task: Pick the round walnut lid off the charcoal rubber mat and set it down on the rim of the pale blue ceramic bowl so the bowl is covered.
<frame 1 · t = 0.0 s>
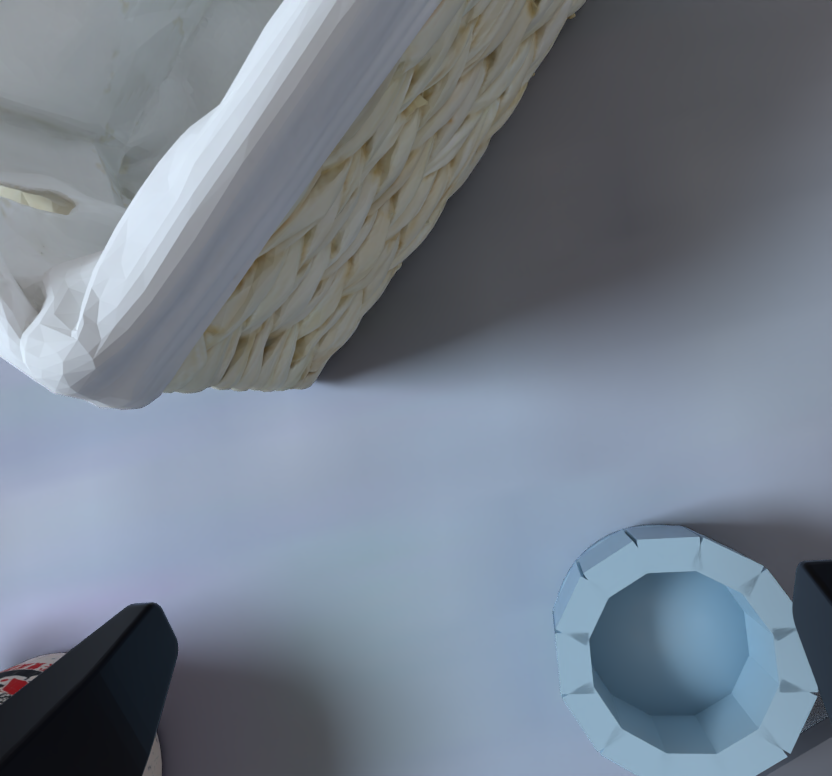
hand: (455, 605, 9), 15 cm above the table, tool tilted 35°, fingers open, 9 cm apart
teacup with lid: (46, 736, 27), on the table
storage basket: (338, 89, 27), on the table
bowl: (659, 628, 23), on the table
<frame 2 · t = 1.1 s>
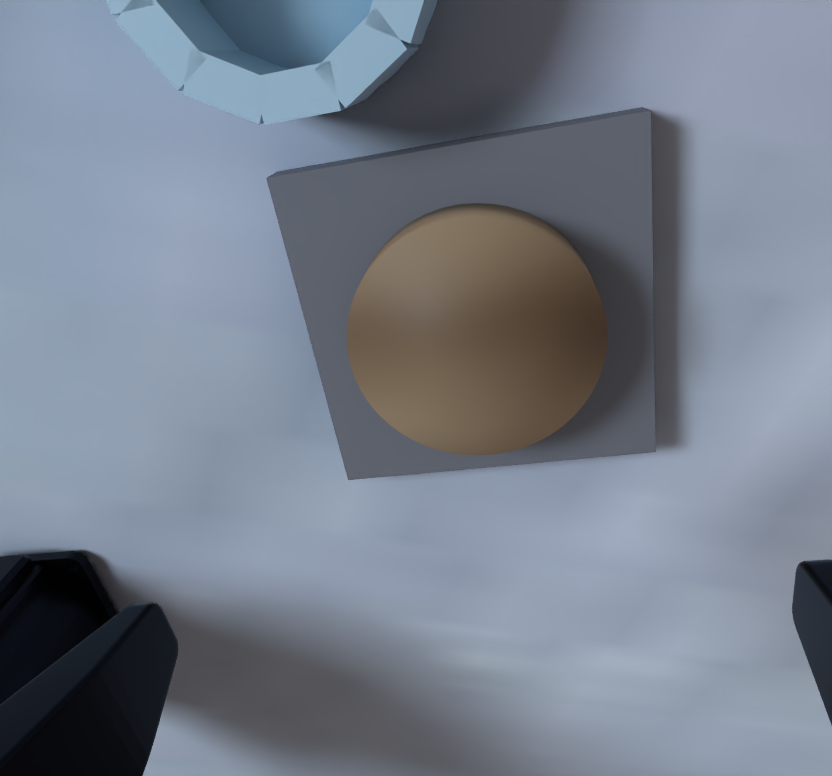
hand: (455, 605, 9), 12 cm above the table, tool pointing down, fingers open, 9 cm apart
mat: (475, 312, 20), on the table
lid: (475, 324, 19), point 1 cm above the table, touching mat
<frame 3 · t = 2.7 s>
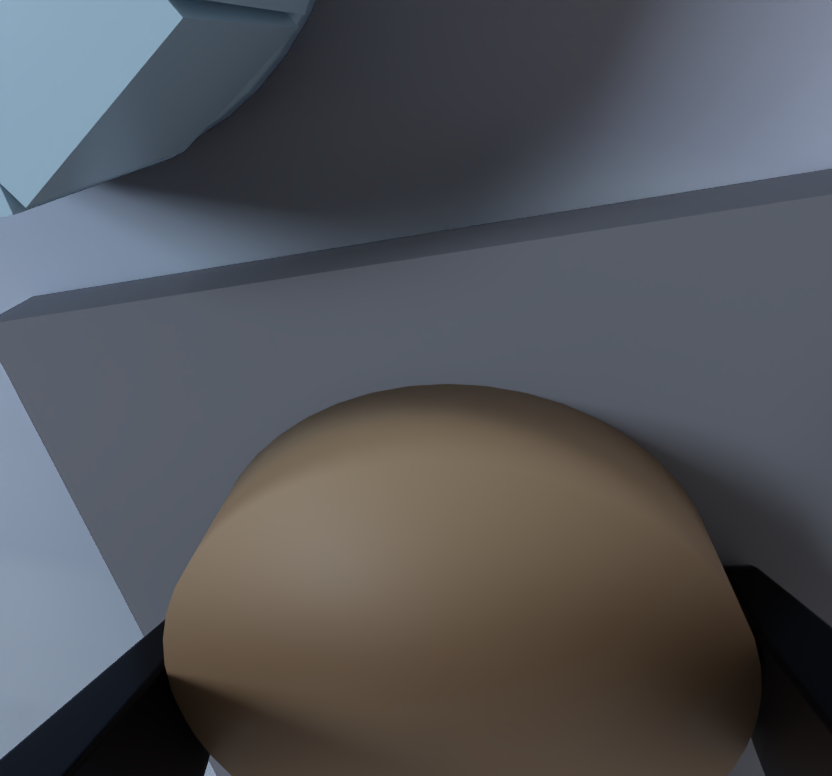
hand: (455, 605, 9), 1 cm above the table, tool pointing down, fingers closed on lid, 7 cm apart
mat: (459, 554, 10), on the table
lid: (455, 603, 9), point 1 cm above the table, touching gripper, mat
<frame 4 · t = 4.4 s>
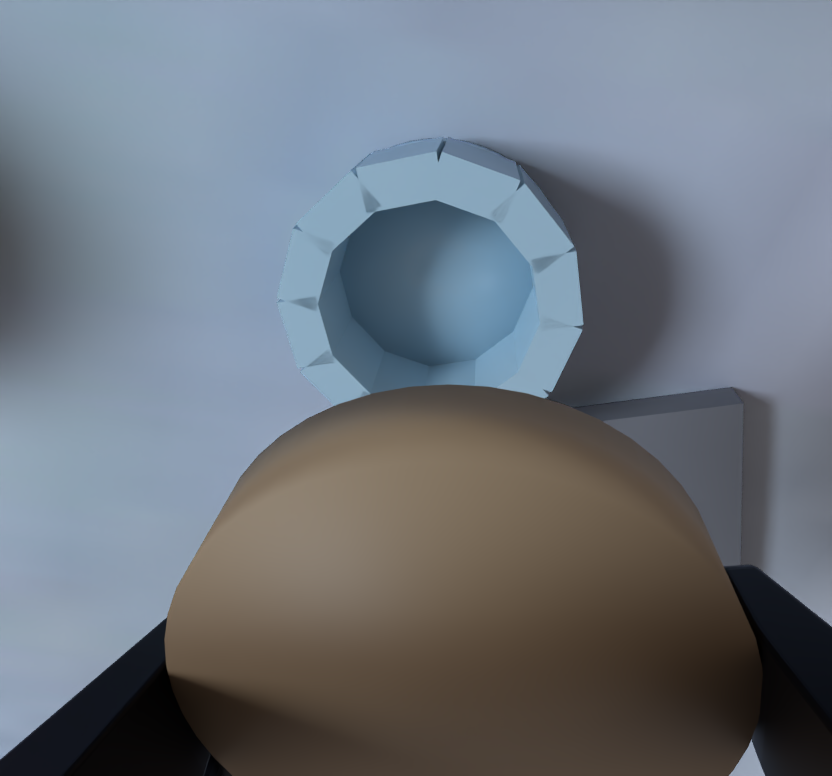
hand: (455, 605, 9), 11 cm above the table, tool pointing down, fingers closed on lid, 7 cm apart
mat: (576, 534, 22), on the table
lid: (456, 603, 9), point 11 cm above the table, touching gripper
bowl: (437, 270, 19), on the table
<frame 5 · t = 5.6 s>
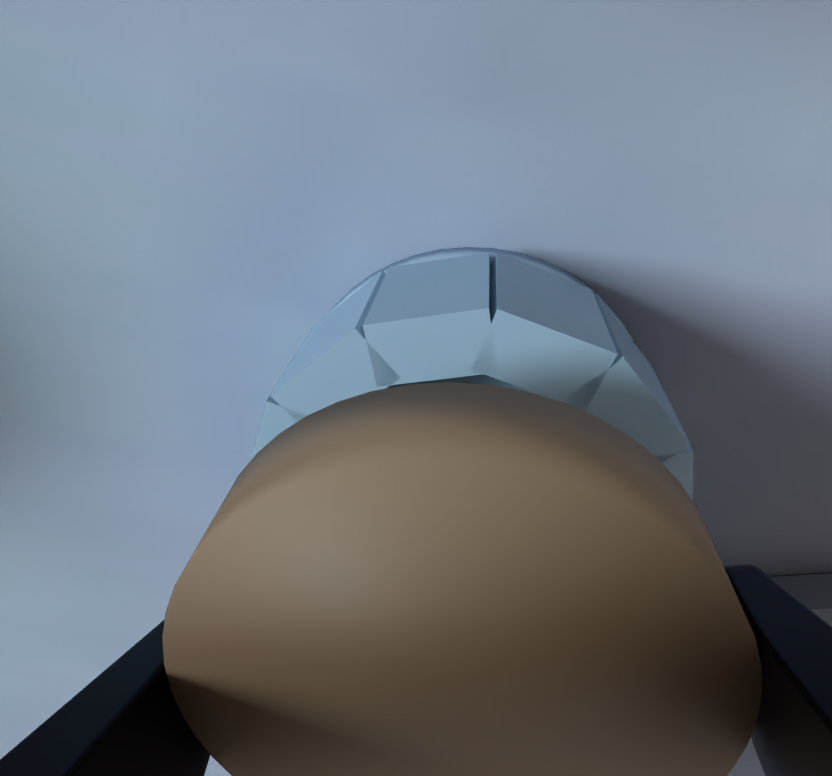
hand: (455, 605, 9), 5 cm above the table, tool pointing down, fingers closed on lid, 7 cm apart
mat: (632, 722, 18), on the table
lid: (455, 602, 9), point 5 cm above the table, touching gripper
bowl: (469, 412, 14), on the table
when the fingers open (4 cm above the table, at t = 6.3 s): lid drops 1 cm, resting on bowl.
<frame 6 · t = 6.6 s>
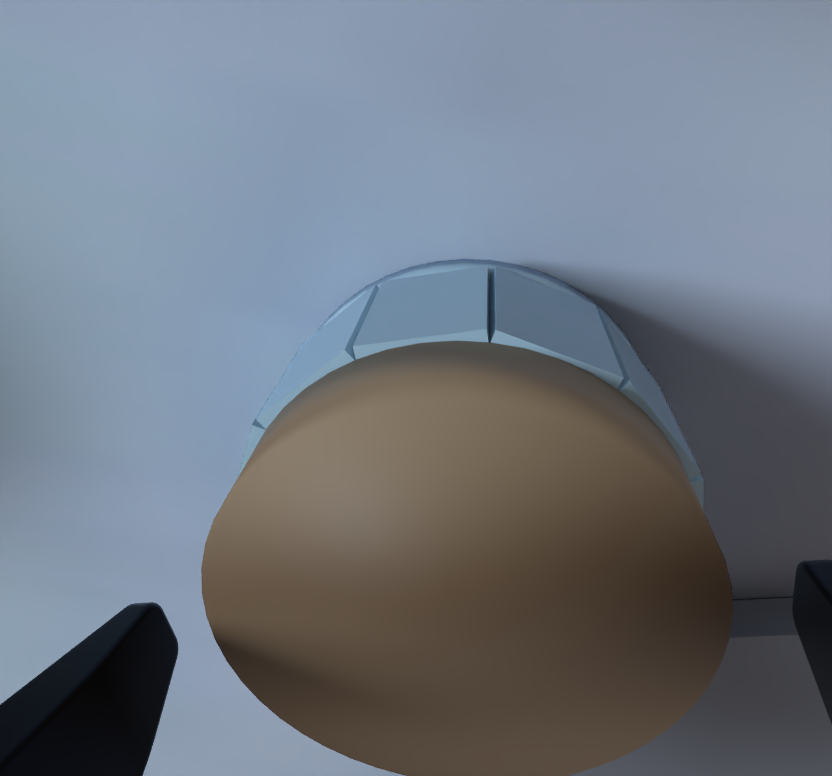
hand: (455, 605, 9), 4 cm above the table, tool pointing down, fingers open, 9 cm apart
mat: (635, 744, 17), on the table
lid: (460, 546, 10), point 3 cm above the table, touching bowl
bowl: (467, 430, 13), on the table, touching lid
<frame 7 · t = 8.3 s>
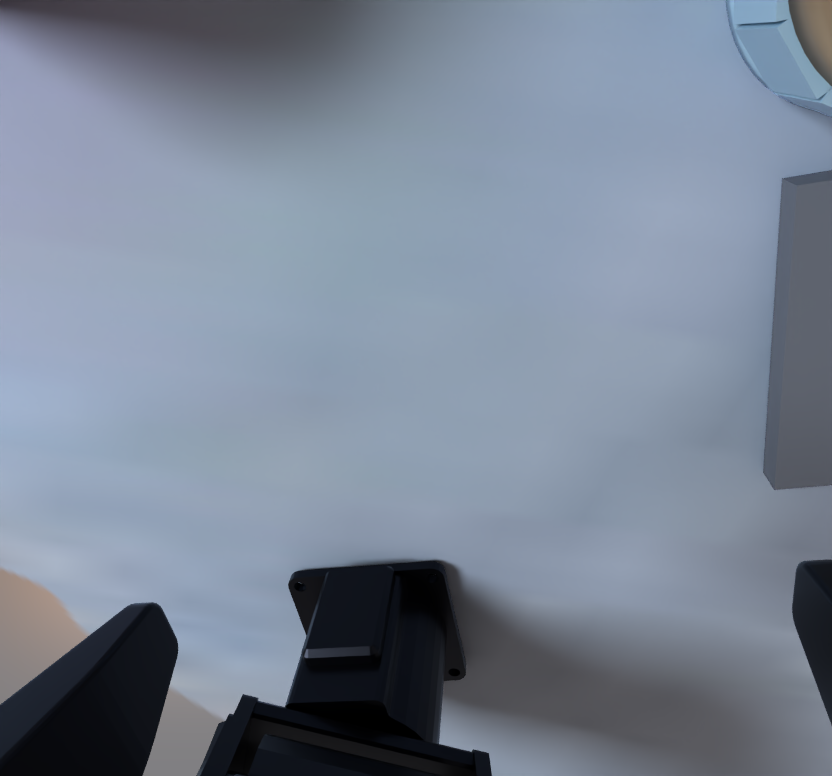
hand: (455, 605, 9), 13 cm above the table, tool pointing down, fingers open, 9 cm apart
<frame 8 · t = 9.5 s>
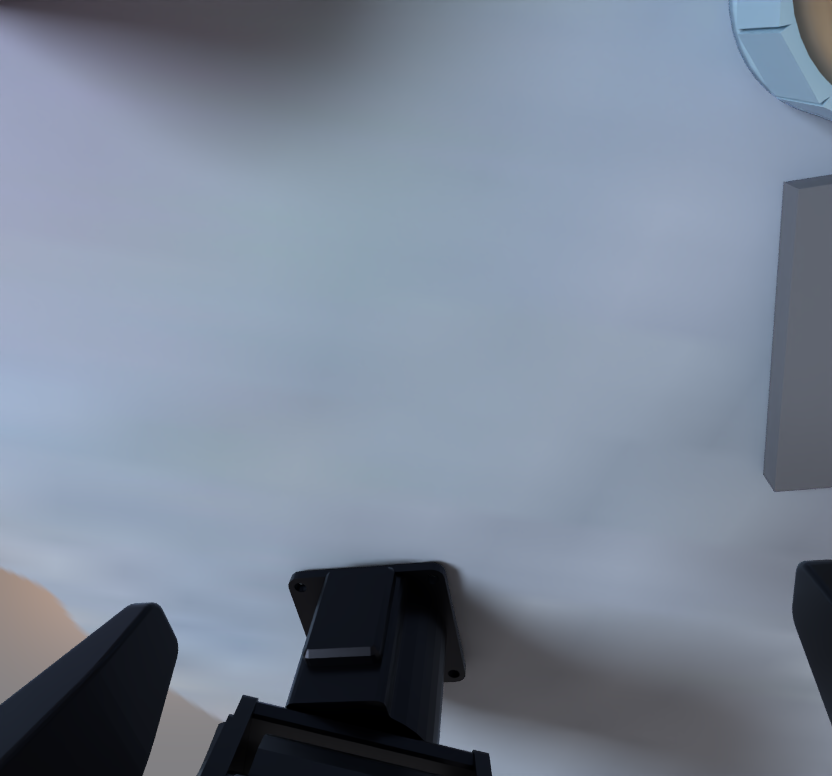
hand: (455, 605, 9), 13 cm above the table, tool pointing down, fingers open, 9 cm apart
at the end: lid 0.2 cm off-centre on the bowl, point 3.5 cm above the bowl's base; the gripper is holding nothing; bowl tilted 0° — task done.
